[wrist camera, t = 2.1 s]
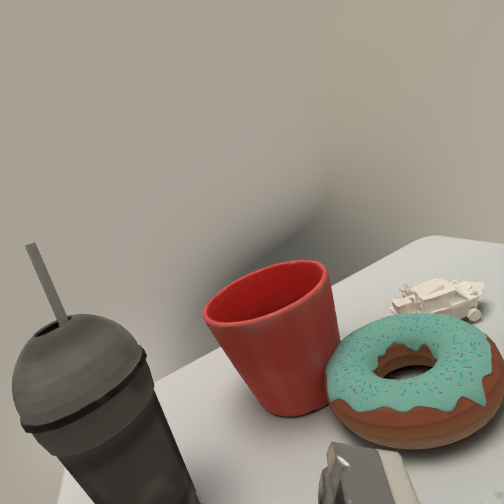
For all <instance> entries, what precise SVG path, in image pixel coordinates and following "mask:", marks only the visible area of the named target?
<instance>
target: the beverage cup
mask: <svg viewBox="0 0 504 504" xmlns="http://www.w3.org/2000/svg"><path fill="white" fill-rule="evenodd" d="M25 247H26V249H27V252H28V254H29V256H30V259H31V261H32V263H33V266H34V268H35V270H36V273H37V275H38V277H39V280H40V282H41V284H42V286H43V289H44V291H45V293H46V296H47V298H48V300H49V303H50V305H51V307H52V310H53V312H54V314H55V316H56V319H57V320H56V321H54V322H52V323H50V324H48V325H46V326H45V327H43V328H42V329H40V330H39V331H38V332H36V333H35V334H34V335H33V336H32V338H31V339H30V340H29V341H28V342H27V343H26V345H25V346H24V348H23V349H22V351H21V353H20V355H19V358H18V360H17V362H16V365H15V368H14V373H13V377H12V394H13V400H14V403H15V407H16V409H17V411H18V413H19V415H20V417H21V418H20V421H21V425H22V427H23V429H24V430H25V432H26V433H32V434H33V436H34V437H35V439H36V440H37V442H38V443H39V444H41V445H42V446H43V447H44V448H45V449H46V450H47V451H48V452H49V453H50V454H51V455H54V456H57V458H58V459H59V460H60V461H61V462H62V464H63V465H64V466H65V467H66V469H67V470H68V471H69V472H70V474H71V475H72V476H73V477H74V479H75V480H76V481H77V482H78V483H79V485H80V486H81V487H82V488H83V490H84V491H85V492H86V493H87V495H88V496H89V497H90V498H91V499H92V501H93V502H94V503H95V504H200V502H199V500H198V497H197V495H196V490H195V487H194V485H193V482H192V480H191V478H190V475H189V473H188V470H187V468H186V466H185V463H184V461H183V458H182V456H181V454H180V451H179V449H178V446H177V444H176V441H175V439H174V437H173V434H172V432H171V429H170V427H169V425H168V422H167V420H166V417H165V415H164V413H163V410H162V408H161V405H160V403H159V401H158V398H157V396H156V393H155V391H154V382H153V379H152V376H151V372H150V368H149V366H148V364H147V362H146V357H147V355H146V353H145V351H144V349H143V348H142V347H141V346H140V345H138V344H137V342H136V340H135V339H134V337H133V336H132V335H131V334H130V333H129V332H128V331H127V330H126V329H125V328H123V327H122V326H121V325H119V324H118V323H116V322H114V321H112V320H110V319H107V318H104V317H101V316H96V315H90V314H77V315H70V316H66V313H65V311H64V308H63V306H62V304H61V301H60V299H59V297H58V295H57V292H56V290H55V287H54V285H53V283H52V281H51V278H50V276H49V274H48V271H47V269H46V267H45V264H44V262H43V260H42V257H41V255H40V253H39V250H38V248H37V246H36V243H32V244H29V245H26V246H25Z"/></svg>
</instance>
